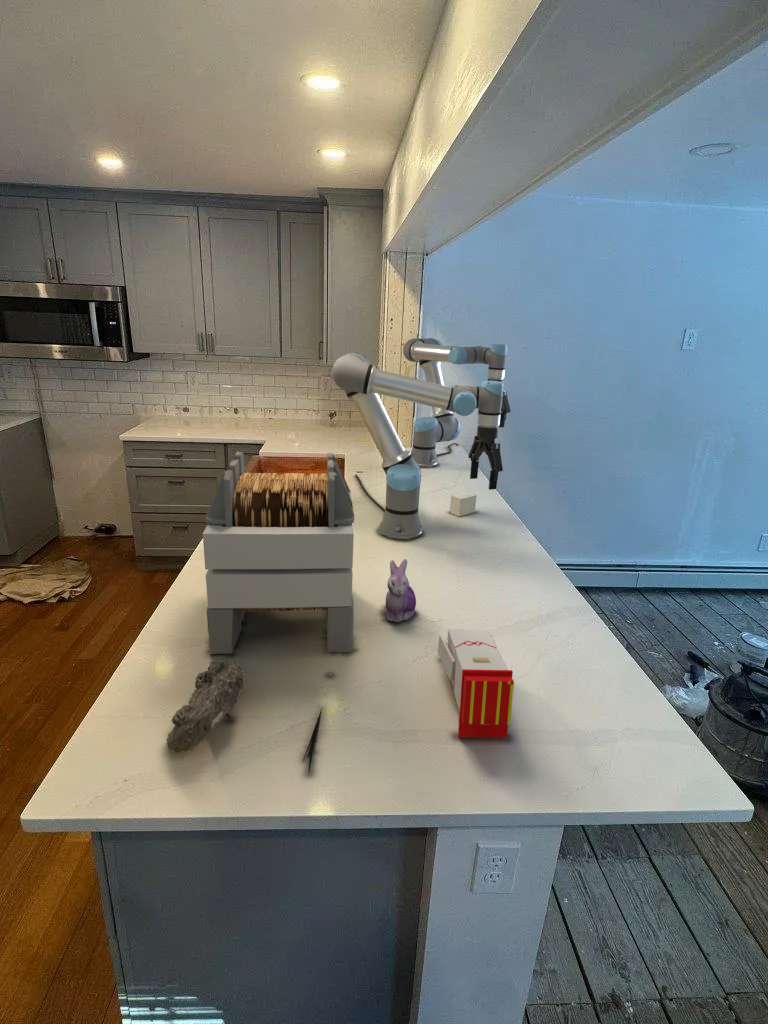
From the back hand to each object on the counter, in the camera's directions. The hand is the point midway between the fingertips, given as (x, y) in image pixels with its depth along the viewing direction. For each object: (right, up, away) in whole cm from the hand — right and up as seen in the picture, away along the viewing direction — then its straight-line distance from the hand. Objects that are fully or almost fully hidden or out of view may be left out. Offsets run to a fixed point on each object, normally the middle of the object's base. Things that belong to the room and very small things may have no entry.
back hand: (490, 424), depth 268 cm
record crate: (-75, -68, -124) cm, 160 cm away
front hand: (-14, -31, -61) cm, 70 cm away
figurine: (-46, -68, -120) cm, 146 cm away
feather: (-63, -81, -159) cm, 189 cm away
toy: (-33, -79, -149) cm, 172 cm away
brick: (-19, -41, -44) cm, 63 cm away
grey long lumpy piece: (-83, -80, -160) cm, 197 cm away
